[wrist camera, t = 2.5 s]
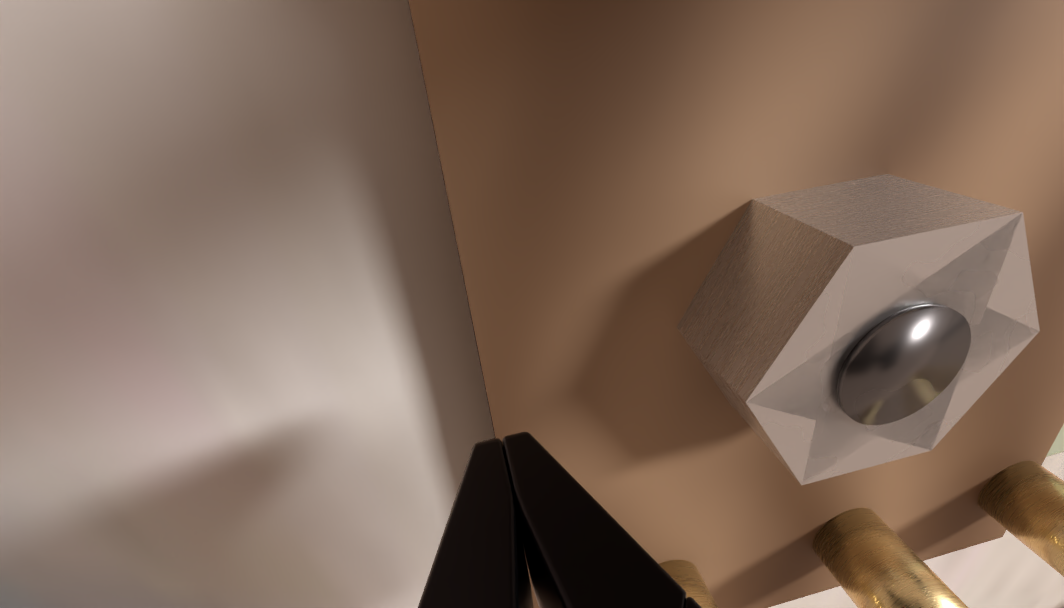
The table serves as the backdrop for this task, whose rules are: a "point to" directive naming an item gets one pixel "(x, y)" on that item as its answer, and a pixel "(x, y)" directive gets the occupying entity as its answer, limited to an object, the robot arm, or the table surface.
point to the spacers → (895, 570)
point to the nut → (862, 318)
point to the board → (707, 223)
